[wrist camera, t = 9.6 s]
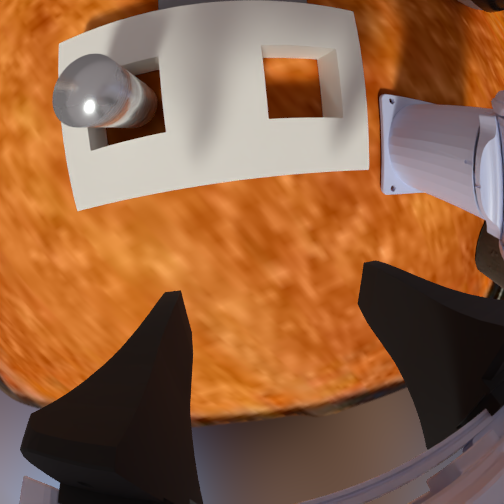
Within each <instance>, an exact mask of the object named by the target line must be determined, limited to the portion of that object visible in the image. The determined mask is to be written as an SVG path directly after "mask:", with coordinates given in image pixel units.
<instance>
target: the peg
mask: <svg viewBox="0 0 504 504" xmlns="http://www.w3.org/2000/svg"><path fill="white" fill-rule="evenodd" d="M157 107H158V99H157V96H156V94H155V92H154V91H153V90H152V89H151V88H150V87H149V86H147V85H146V84H145V83H143V82H142V81H141V80H139V79H138V78H137V77H135V76H134V75H133V74H131V73H130V72H129V71H127V70H126V69H125V68H123V67H122V66H121V65H119V64H118V63H116V62H115V61H114V60H112V59H111V58H109V57H108V56H106V55H103V54H97V53H94V54H87V55H84V56H82V57H80V58H78V59H76V60H75V61H73V62H72V63H71V64H69V65H68V66H67V67H66V68H65V70H64V71H63V72H62V73H61V75H60V77H59V78H58V80H57V82H56V85H55V88H54V92H53V108H54V111H55V114H56V116H57V117H58V119H59V120H60V121H61V122H62V123H64V124H65V125H67V126H70V127H76V128H81V127H114V128H138V127H141V126H143V125H145V124H147V123H148V122H149V121H150V120H151V119H152V118H153V117H154V115H155V113H156V111H157Z"/></svg>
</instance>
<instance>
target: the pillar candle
mask: <svg viewBox="0 0 504 504" xmlns="http://www.w3.org/2000/svg"><path fill="white" fill-rule="evenodd" d="M475 261H476V265H477V269H478V270H479V271H480V272H482V273H483V274H485V275H486V276H487V277H489V278H490V279H491V280H493V281H494V282H495V283H497V284H498V285H499V286H501V287H502V288H503V289H504V259H503V257H502V255H501V253H500V249H499V239H498V238H496V237H495V236H493V235H491V234H489V233H488V232H487V223H486V222H485V224H484V226H483V229H482V231H481V234H480V236H479V240H478V245H477V251H476V259H475Z"/></svg>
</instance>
